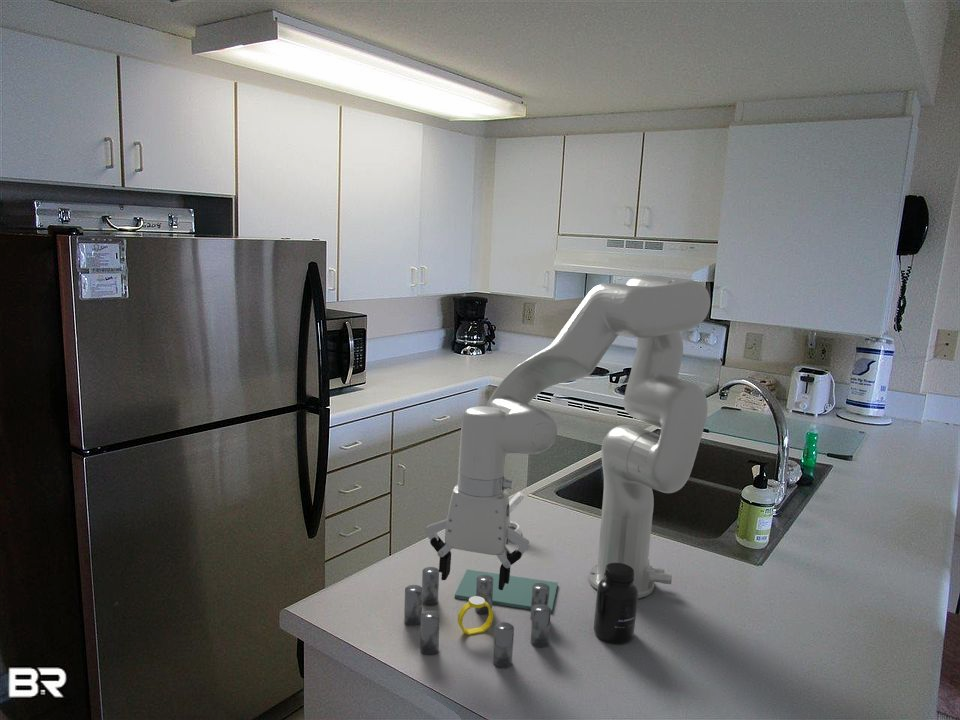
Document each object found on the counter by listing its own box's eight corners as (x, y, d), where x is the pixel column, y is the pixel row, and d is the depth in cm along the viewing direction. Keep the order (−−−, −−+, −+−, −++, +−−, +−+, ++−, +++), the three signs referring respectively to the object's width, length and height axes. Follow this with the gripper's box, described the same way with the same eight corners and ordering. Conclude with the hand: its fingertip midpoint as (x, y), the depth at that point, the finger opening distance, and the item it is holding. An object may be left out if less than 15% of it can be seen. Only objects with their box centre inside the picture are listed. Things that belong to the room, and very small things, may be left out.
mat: (557, 585, 132) (557, 582, 132) (551, 612, 122) (551, 609, 122) (466, 572, 135) (467, 569, 135) (454, 597, 126) (454, 594, 126)
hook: (545, 519, 149) (521, 504, 147) (511, 556, 153) (486, 541, 150) (540, 500, 156) (516, 485, 154) (506, 535, 159) (483, 520, 157)
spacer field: (553, 616, 121) (556, 585, 120) (542, 675, 105) (544, 639, 104) (419, 595, 126) (420, 565, 125) (387, 648, 110) (388, 614, 109)
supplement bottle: (625, 650, 112) (631, 583, 110) (587, 636, 116) (592, 570, 113) (639, 631, 118) (645, 566, 116) (602, 618, 121) (607, 555, 119)
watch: (487, 626, 118) (491, 594, 117) (493, 635, 115) (497, 602, 114) (454, 629, 116) (458, 597, 115) (460, 638, 113) (464, 605, 112)
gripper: (536, 483, 112) (528, 579, 115) (435, 469, 116) (429, 563, 119) (530, 499, 105) (521, 601, 108) (422, 483, 108) (417, 583, 111)
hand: (473, 581), depth 113 cm, fingers open, 9 cm apart
